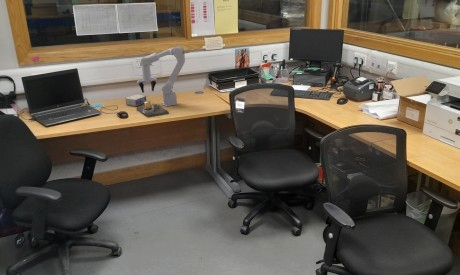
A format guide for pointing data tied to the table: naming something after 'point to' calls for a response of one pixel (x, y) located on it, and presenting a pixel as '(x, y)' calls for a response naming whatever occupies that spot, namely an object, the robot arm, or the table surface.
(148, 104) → the brass cylinder
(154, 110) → the fitting board
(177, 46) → the robot arm
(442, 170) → the table surface
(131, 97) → the ink cartridge box
